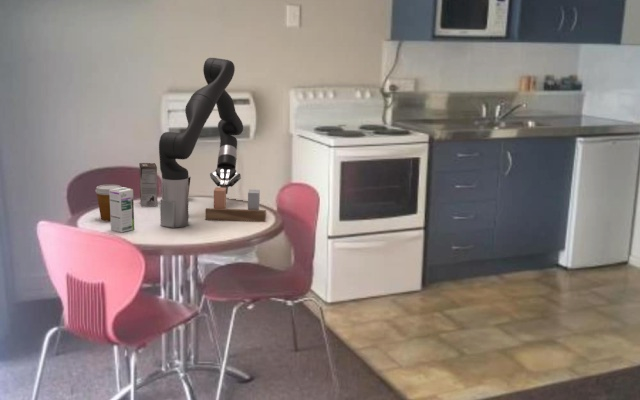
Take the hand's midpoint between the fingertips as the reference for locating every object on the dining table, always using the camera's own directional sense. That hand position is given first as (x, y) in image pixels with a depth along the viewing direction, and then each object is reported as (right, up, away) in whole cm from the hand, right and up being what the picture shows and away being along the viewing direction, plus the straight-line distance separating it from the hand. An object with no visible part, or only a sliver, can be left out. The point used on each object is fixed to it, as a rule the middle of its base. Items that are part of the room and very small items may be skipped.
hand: (223, 194), depth 269 cm
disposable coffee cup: (-38, -9, -22) cm, 45 cm away
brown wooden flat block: (+7, -9, -12) cm, 16 cm away
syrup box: (-30, -13, -36) cm, 48 cm away
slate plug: (+13, -9, -12) cm, 20 cm away
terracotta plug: (0, -8, -11) cm, 14 cm away
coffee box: (-31, -4, +2) cm, 31 cm away
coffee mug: (-20, -3, +10) cm, 23 cm away
